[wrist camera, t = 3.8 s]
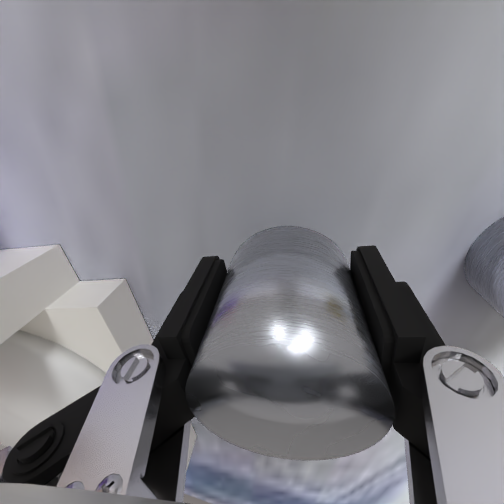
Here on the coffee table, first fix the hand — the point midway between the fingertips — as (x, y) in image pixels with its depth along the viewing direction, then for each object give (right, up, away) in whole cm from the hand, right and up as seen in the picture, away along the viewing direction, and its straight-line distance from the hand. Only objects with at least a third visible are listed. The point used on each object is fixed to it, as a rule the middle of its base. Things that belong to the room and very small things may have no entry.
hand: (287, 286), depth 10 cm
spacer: (0, 0, 0) cm, 0 cm away
